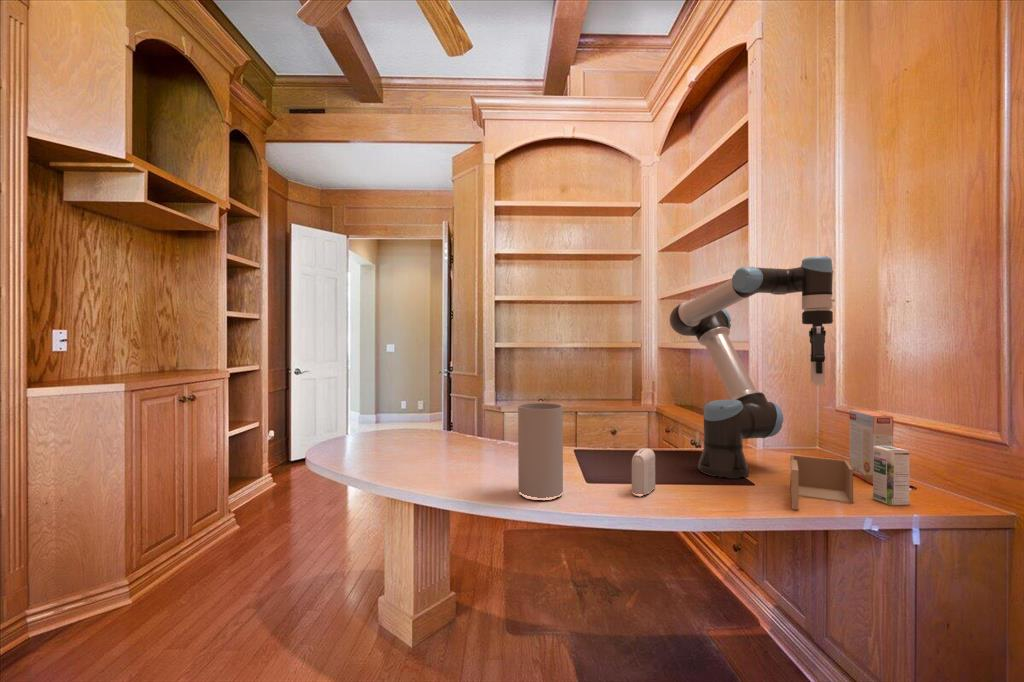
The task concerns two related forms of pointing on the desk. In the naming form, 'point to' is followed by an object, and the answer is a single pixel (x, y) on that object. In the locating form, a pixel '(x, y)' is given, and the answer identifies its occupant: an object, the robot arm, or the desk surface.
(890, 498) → the syrup box
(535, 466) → the cylinder vase
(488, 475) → the desk surface
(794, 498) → the flap
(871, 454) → the cracker box
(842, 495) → the carton
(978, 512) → the desk surface
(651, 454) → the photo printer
